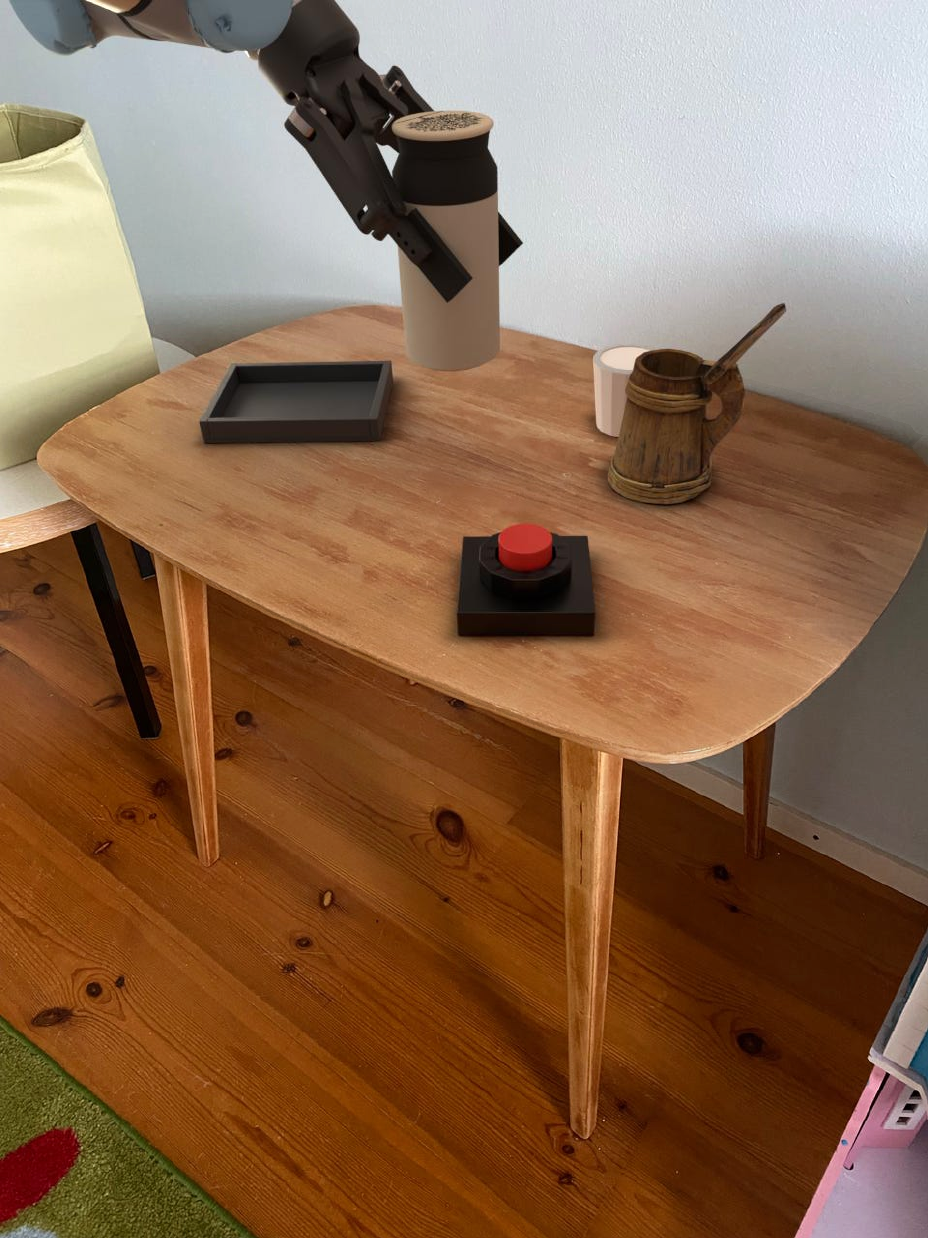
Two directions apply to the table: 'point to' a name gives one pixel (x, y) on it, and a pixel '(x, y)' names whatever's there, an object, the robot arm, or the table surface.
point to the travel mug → (451, 237)
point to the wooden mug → (677, 420)
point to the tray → (299, 402)
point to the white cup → (613, 384)
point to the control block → (525, 591)
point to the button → (525, 547)
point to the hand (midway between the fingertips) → (486, 271)
